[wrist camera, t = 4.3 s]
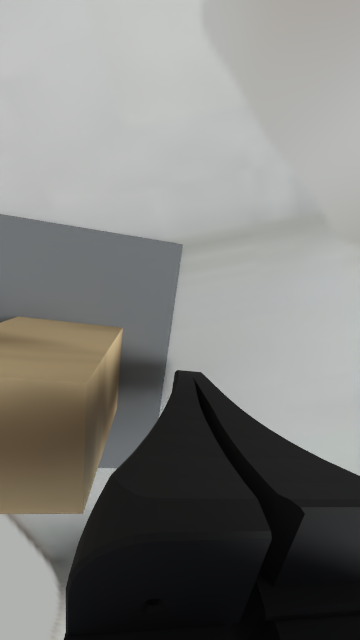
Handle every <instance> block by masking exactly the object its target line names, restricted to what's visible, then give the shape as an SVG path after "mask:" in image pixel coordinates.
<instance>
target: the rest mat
mask: <svg viewBox="0 0 360 640" xmlns="http://www.w3.org/2000/svg"><path fill="white" fill-rule="evenodd" d="M182 246H183V245H182V244H176V243H170V242H164V241H158V240H152V239H146V238H140V237H134V236H128V235H122V234H116V233H110V232H104V231H98V230H92V229H86V228H80V227H74V226H68V225H62V224H56V223H50V222H44V221H38V220H32V219H26V218H20V217H14V216H8V215H2V214H0V323H1V322H3V321H6V320H9V319H12V318H15V317H18V316H19V317H28V318H37V319H46V320H56V321H65V322H74V323H83V324H92V325H101V326H111V327H120V328H123V331H122V345H121V358H120V372H119V385H118V399H117V410H116V413H115V416H114V419H113V422H112V425H111V428H110V431H109V434H108V438H107V441H106V444H105V447H104V450H103V453H102V456H101V459H100V462H99V465H98V468H118V467H119V466H120V465H121V464H122V463H123V462H124V461H125V460H126V459H127V458H128V457H129V456H130V455H131V454H132V453H133V452H134V451H135V450H136V448H137V447H138V446H139V445H140V443H141V442H142V441H143V440H144V439H145V437H146V436H147V435H148V434H149V432H150V431H151V429H152V428H153V427H154V425H155V424H156V422H157V420H158V418H159V411H160V404H161V396H162V389H163V382H164V375H165V368H166V361H167V353H168V346H169V339H170V332H171V325H172V317H173V310H174V303H175V296H176V289H177V282H178V274H179V267H180V260H181V253H182Z"/></svg>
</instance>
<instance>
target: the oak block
mask: <svg viewBox="0 0 360 640" xmlns="http://www.w3.org/2000/svg"><path fill="white" fill-rule="evenodd" d="M122 331H123V328H120V327H111V326H101V325H92V324H83V323H74V322H65V321H56V320H46V319H37V318H28V317H19V316H18V317H15V318H12V319H9V320H6V321H3V322H1V323H0V514H81V513H83V512H84V509H85V506H86V503H87V500H88V496H89V493H90V490H91V487H92V484H93V481H94V478H95V475H96V472H97V469H98V465H99V462H100V459H101V456H102V453H103V450H104V447H105V444H106V441H107V438H108V434H109V431H110V428H111V425H112V422H113V419H114V416H115V413H116V410H117V399H118V385H119V372H120V358H121V345H122Z"/></svg>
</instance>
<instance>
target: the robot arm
mask: <svg viewBox="0 0 360 640" xmlns="http://www.w3.org/2000/svg"><path fill="white" fill-rule="evenodd" d="M64 640H360V476H358V475H356V474H354V473H352V472H350V471H347V470H345V469H343V468H341V467H339V466H336V465H334V464H332V463H330V462H328V461H325V460H323V459H321V458H319V457H318V456H316V455H314V454H312V453H310V452H308V451H306V450H304V449H302V448H300V447H298V446H297V445H295V444H293V443H291V442H290V441H288V440H286V439H284V438H283V437H281V436H280V435H278V434H276V433H275V432H273V431H271V430H270V429H268V428H267V427H265V426H264V425H262V424H261V423H259V422H258V421H256V420H255V419H254V418H252V417H251V416H249V415H248V414H247V413H245V412H244V411H243V410H242V409H240V408H239V407H238V406H237V405H236V404H234V403H233V402H232V401H231V400H230V399H229V398H227V397H226V396H225V395H224V394H223V393H222V392H221V391H220V390H219V389H218V388H217V387H216V386H215V385H214V384H213V383H212V382H211V381H210V380H209V379H208V378H206V377H205V376H204V375H203V374H202V373H201V372H192V371H181V370H177V371H176V372H175V376H174V382H173V389H172V393H171V396H170V398H169V400H168V403H167V405H166V407H165V409H164V410H163V412H162V414H161V416H160V417H159V419H158V420H157V422H156V424H155V425H154V427H153V428H152V429H151V431H150V432H149V434H148V435H147V436H146V437H145V439H144V440H143V441H142V442H141V443H140V445H139V446H138V447H137V448H136V450H135V451H134V452H133V453H132V454H131V455H130V456H129V457H128V458H127V459H126V460H125V461H124V462H123V463H122V464H121V465H120V466H119V467H118V468H117V470H116V471H115V472H114V473H113V474H112V475H111V476H110V478H109V480H108V482H107V483H106V485H105V487H104V489H103V491H102V492H101V494H100V496H99V498H98V500H97V502H96V504H95V506H94V508H93V510H92V512H91V514H90V516H89V519H88V521H87V523H86V526H85V528H84V530H83V533H82V536H81V538H80V541H79V544H78V547H77V550H76V554H75V557H74V560H73V564H72V567H71V571H70V574H69V578H68V582H67V587H66V634H65V637H64Z"/></svg>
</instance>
